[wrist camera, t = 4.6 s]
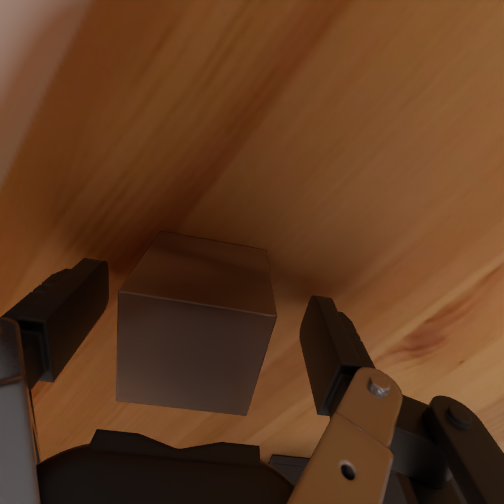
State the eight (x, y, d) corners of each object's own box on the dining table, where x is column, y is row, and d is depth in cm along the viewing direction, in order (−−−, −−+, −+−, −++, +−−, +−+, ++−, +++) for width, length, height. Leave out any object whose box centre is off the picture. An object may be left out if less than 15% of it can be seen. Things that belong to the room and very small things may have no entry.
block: (153, 316, 14) (115, 401, 10) (160, 230, 12) (117, 290, 8) (245, 330, 14) (246, 416, 10) (266, 249, 12) (277, 316, 8)
